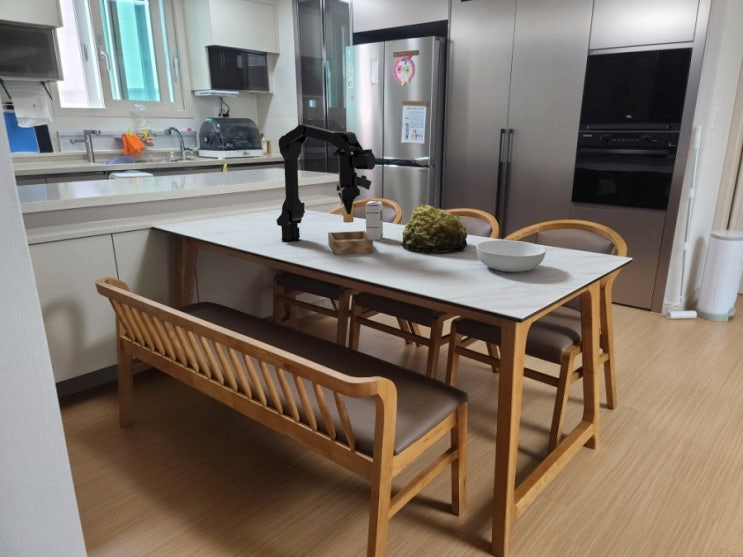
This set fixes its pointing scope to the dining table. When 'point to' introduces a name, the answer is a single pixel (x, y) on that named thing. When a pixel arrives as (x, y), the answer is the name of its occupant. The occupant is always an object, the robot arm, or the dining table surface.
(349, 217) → the peg
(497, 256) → the serving bowl
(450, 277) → the dining table surface
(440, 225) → the lumpy green mound
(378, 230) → the syrup box
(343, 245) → the crate
